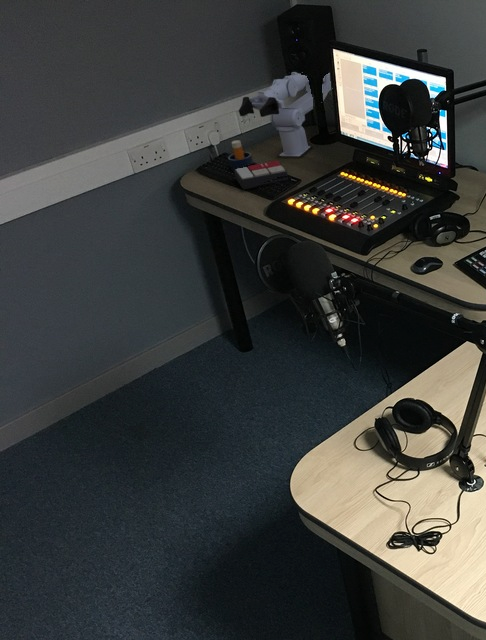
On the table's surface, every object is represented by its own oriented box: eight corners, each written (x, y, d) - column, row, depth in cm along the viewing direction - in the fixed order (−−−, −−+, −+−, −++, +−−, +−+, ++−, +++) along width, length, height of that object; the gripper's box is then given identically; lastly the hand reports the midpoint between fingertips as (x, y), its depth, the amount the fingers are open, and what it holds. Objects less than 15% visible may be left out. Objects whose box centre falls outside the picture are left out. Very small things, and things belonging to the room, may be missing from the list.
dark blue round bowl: (237, 162, 294) (235, 151, 292) (258, 163, 292) (255, 152, 290) (226, 171, 288) (223, 160, 286) (247, 171, 286) (244, 160, 284)
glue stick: (240, 164, 291) (234, 140, 286) (248, 164, 291) (241, 140, 286) (236, 167, 289) (229, 143, 284) (244, 167, 288) (237, 143, 283)
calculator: (286, 169, 276) (240, 177, 270) (289, 181, 278) (243, 190, 272) (278, 159, 284) (233, 167, 278) (280, 171, 286) (235, 179, 280)
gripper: (249, 85, 280) (227, 100, 271) (287, 86, 276) (266, 101, 267) (255, 106, 285) (234, 121, 275) (292, 107, 281) (272, 123, 271)
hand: (250, 113), depth 271 cm, fingers open, 7 cm apart
